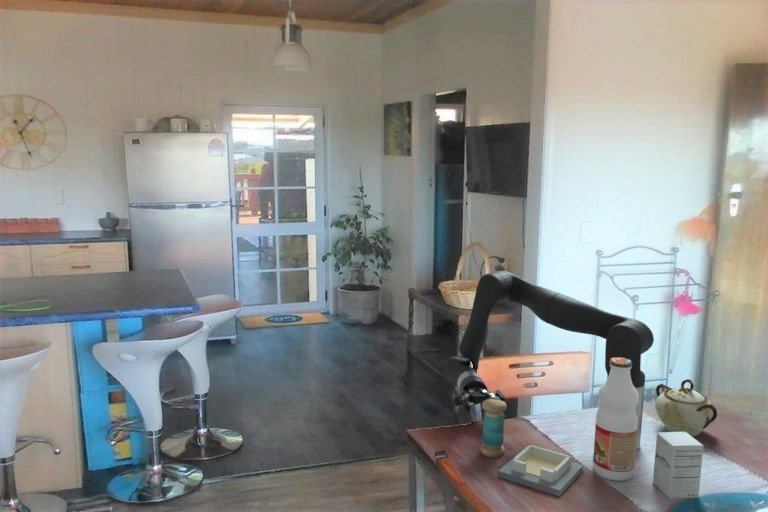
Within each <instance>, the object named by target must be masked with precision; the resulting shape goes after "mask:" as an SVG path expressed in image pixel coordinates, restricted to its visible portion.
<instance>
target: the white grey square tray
mask: <svg viewBox="0 0 768 512" xmlns="http://www.w3.org/2000/svg"><path fill="white" fill-rule="evenodd" d="M583 467H584V465H583V464H580V463H577V462H573V461H572V456H571V455H568V454H565V453H560V452H559V451H558V452H557V451H554V450H550V449H547V448H544V447H540V446H536V445H534V444H529V445H528V446H526V447H525V448H524V449H523V450H521V451H520V452H519V453H518V454H517V455H515V456H514V457H513V458H512V459H511V460H509V461H508V462H507V463H506V464H505V465H503V466H502V467H501V468H500V469H499V470H498V472H497V473H498V475H497V477H498V478H501V479H504V480H507V481H511V482H514V483H517V484H521V485H523V486H526V487H529V488H531V489H535V490H538V491H542V492H545V493H547V494H550V495H553V496H556V497H561V496H562V495H563V494H564V493H565V491H567V489H568V488H569V487H570V486H571V485H572V484H573V482H574V481H575V480H576V479H577V478H578V477H580V475H581V474H582V473H583V471H584V468H583Z"/></svg>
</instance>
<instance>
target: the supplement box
mask: <svg viewBox="0 0 768 512" xmlns="http://www.w3.org/2000/svg"><path fill="white" fill-rule="evenodd" d="M655 441H656V443H655V453H654V465H653V472H652V473H653V475H652V484H654V485H655V486H656V487H657V488H658V489H659V490H660V491H661V492H662V493H663V494H664V495H665V496H666V497H667V498H668V499H692V498H693V499H695V498H699V496H700V485H701V475H702V464H703V455H704V444H703V443H701V442H699V440H697V439H695V438H694V436H690V435H689V434H688V433H686V432H670V431H664V432H663V431H660V432H656V440H655Z"/></svg>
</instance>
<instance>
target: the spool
mask: <svg viewBox="0 0 768 512" xmlns="http://www.w3.org/2000/svg"><path fill="white" fill-rule="evenodd" d="M481 405H482V410H484V412H483V421H482V423H483V425H482V426H483V427H482V429H483V430H482V444H481V446H480V453H481V455H484V457H485V456H486V457H489V458H501V457H503V456H504V455H505V451H506V447H505V446H503V445H504V438H505V436H504V432H505V413H504V412H505V411H507V403H506V401H505V402H504V401H501V400H497V399H488V400H484V401H483V403H482V404H481Z"/></svg>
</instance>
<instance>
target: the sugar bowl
mask: <svg viewBox="0 0 768 512" xmlns="http://www.w3.org/2000/svg"><path fill="white" fill-rule="evenodd" d="M680 383H681V384H680V387H678V388H677V387H676V388H671V387H669V386H667V385H666V384H663V383H659V384H657V386H656V387H655V388H656V389H655V393H656V396H657V398H656V400H655V405H654V406H655V408H654V409H655V411H656V414H657V416H658V418H659V420H660V421H661V422H662V424H663V425H664V426H665V429H666V430H667V432H686V433H688V434H689V435H690V436H692V437H696V436H699V434H700V433H702V431H704V430H705V429H706V428H707V427H709V425H710V424H711V423H713V422H715V420H716V419H717V418H718V417H717V416H718V411H717V409H716V407H715V405H713V404H712V402H711V401H710V400H709V399H708V398H707V397H706V396H705V395H704V394H703V393H700V392H698V391H696V390H694V382H693V381H692V379H684V380H683V381H681V382H680ZM686 383H689V385H690V388H688V387H685V384H686ZM660 389H661V391H660Z"/></svg>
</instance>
